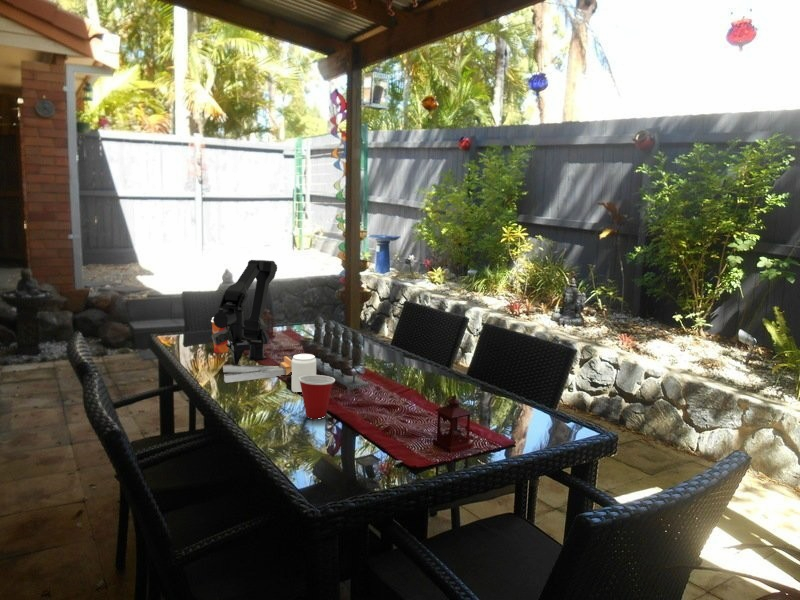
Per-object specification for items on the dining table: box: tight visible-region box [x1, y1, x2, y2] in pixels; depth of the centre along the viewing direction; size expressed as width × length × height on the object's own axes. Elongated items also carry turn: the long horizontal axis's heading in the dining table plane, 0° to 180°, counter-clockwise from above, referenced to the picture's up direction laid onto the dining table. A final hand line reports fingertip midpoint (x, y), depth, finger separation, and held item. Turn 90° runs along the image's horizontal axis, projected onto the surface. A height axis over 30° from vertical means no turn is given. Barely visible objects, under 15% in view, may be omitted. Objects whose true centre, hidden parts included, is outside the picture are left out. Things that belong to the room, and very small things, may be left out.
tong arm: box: [222, 364, 280, 373], centre depth 237 cm, size 20×2×2 cm, turn 89°
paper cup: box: [210, 316, 230, 354], centre depth 264 cm, size 8×8×14 cm
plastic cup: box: [299, 374, 336, 420], centre depth 194 cm, size 11×11×12 cm
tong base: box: [223, 366, 286, 384], centre depth 232 cm, size 5×24×2 cm, turn 119°
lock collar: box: [279, 356, 292, 375], centre depth 236 cm, size 7×2×5 cm, turn 29°
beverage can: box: [291, 353, 317, 393], centre depth 217 cm, size 8×8×12 cm
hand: (236, 364), depth 242 cm, fingers closed
